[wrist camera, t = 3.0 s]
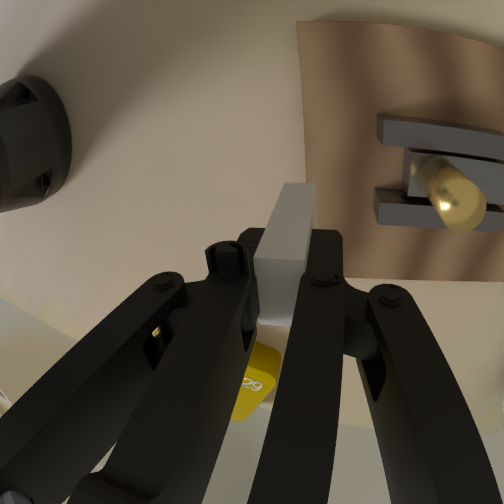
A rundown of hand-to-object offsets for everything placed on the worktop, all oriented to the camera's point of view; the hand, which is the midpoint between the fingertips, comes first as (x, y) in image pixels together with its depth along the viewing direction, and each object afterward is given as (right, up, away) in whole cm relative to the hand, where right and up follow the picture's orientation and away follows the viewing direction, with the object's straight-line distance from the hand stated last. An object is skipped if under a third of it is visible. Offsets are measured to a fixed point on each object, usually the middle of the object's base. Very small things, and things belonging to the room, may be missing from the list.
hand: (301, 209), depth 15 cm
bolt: (+13, +4, +3) cm, 14 cm away
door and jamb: (+16, +5, +5) cm, 18 cm away
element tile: (-7, -16, +26) cm, 31 cm away
